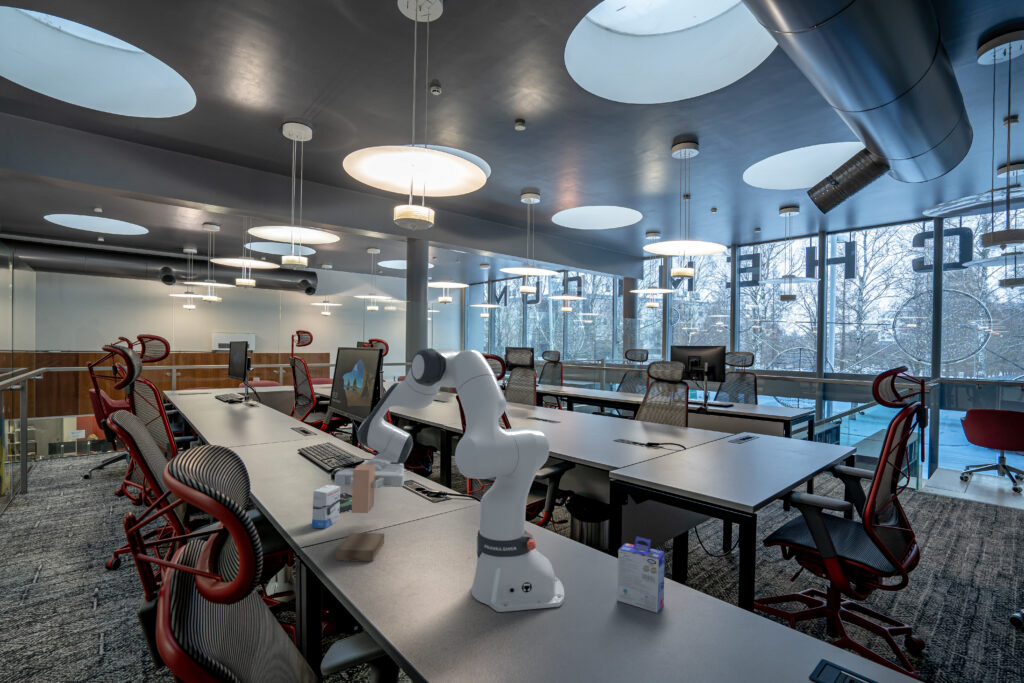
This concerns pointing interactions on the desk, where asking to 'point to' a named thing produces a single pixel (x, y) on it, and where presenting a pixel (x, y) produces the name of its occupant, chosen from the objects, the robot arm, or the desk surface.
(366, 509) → the terracotta block
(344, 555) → the plinth
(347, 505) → the disk drive
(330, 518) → the ink box
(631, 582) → the ink cartridge box
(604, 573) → the desk surface
